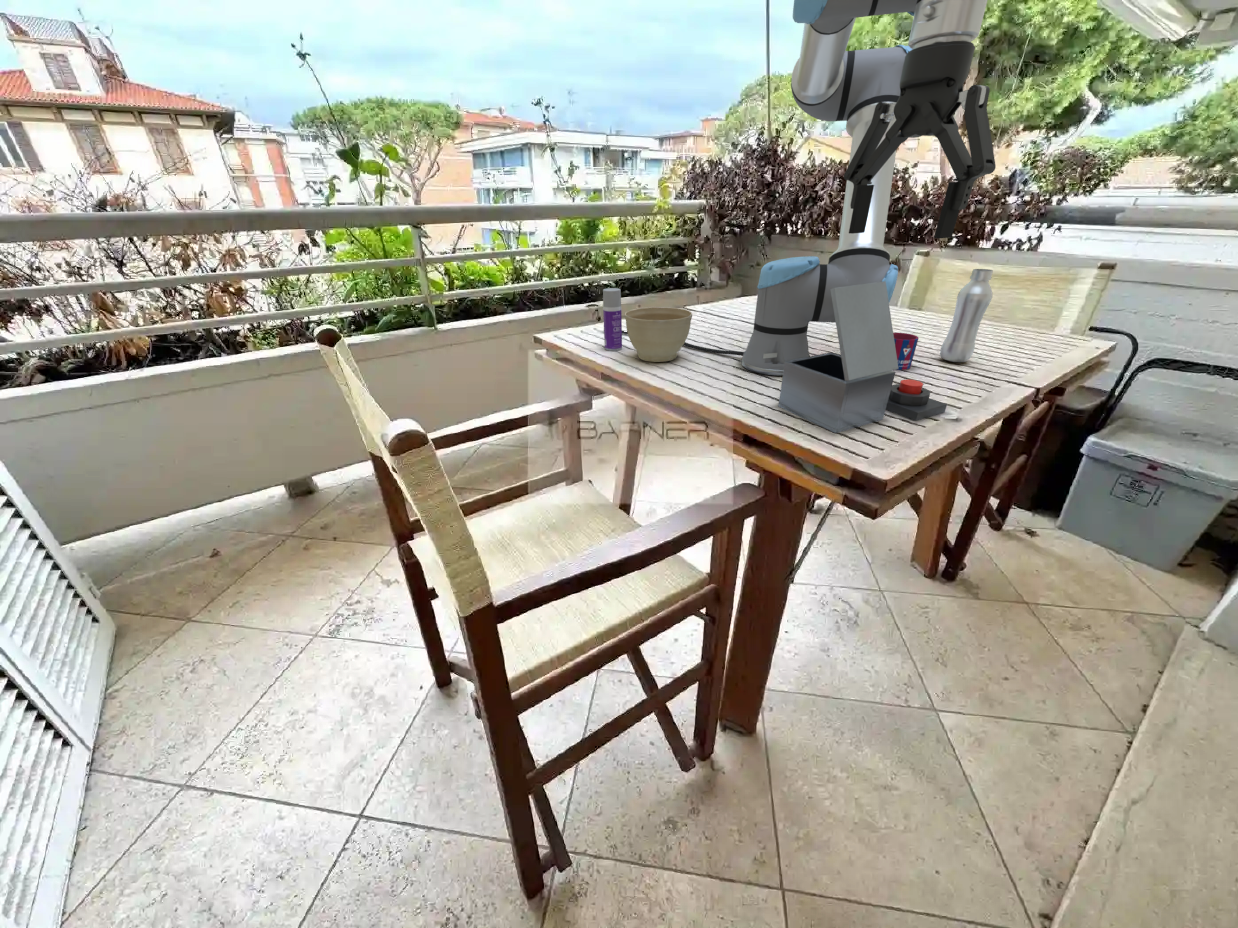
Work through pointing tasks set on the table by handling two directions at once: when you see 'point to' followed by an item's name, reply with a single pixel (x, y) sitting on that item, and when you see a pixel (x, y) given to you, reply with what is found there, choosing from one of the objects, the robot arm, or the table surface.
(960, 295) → the silver metal bottle
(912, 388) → the button
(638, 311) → the planter bowl
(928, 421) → the table surface
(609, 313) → the container
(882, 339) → the lid
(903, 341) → the mug
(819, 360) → the tin
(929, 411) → the button base
